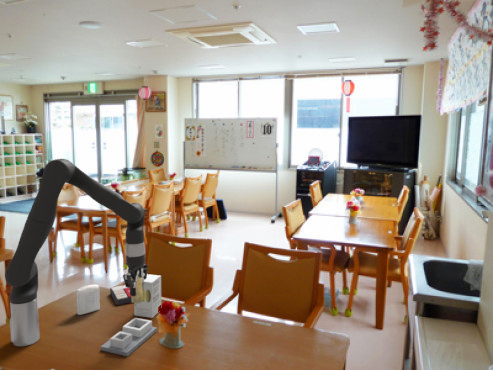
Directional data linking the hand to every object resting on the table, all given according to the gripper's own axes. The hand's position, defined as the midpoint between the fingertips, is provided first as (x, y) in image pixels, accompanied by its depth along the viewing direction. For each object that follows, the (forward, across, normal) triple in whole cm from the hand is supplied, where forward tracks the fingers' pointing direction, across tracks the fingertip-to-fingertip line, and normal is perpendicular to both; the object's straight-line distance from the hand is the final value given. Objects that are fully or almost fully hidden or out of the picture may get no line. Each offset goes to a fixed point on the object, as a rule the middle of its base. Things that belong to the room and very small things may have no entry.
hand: (136, 293), depth 157 cm
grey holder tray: (+18, +5, 0) cm, 18 cm away
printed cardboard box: (+18, -28, -27) cm, 43 cm away
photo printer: (+18, -9, -33) cm, 39 cm away
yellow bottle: (+3, 0, 0) cm, 3 cm away
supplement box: (+18, -18, -7) cm, 26 cm away
